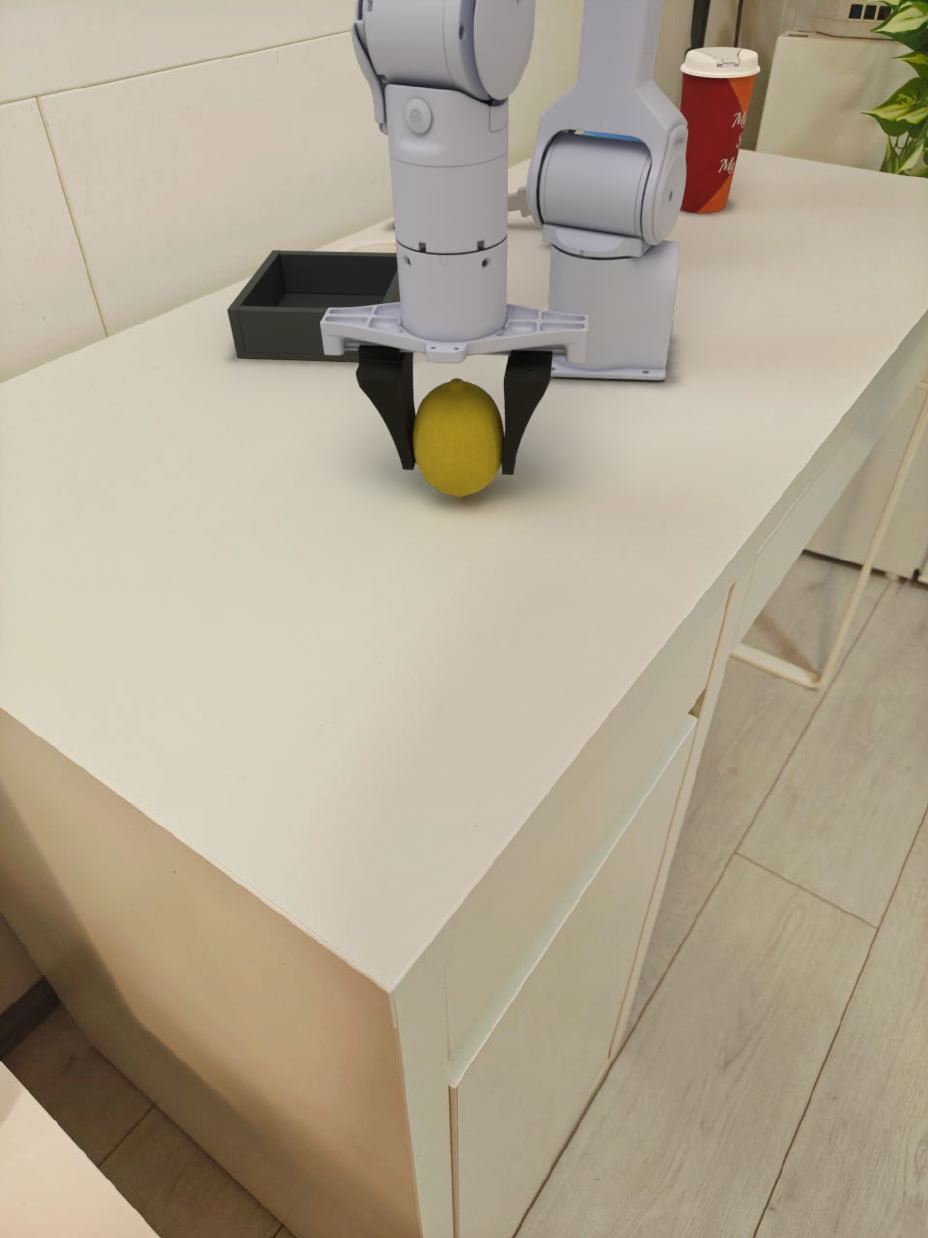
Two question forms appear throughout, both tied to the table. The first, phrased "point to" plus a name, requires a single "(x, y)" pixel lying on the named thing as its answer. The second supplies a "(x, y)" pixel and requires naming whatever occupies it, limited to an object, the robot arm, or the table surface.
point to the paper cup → (714, 121)
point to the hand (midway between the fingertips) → (458, 463)
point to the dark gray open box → (307, 300)
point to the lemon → (458, 438)
